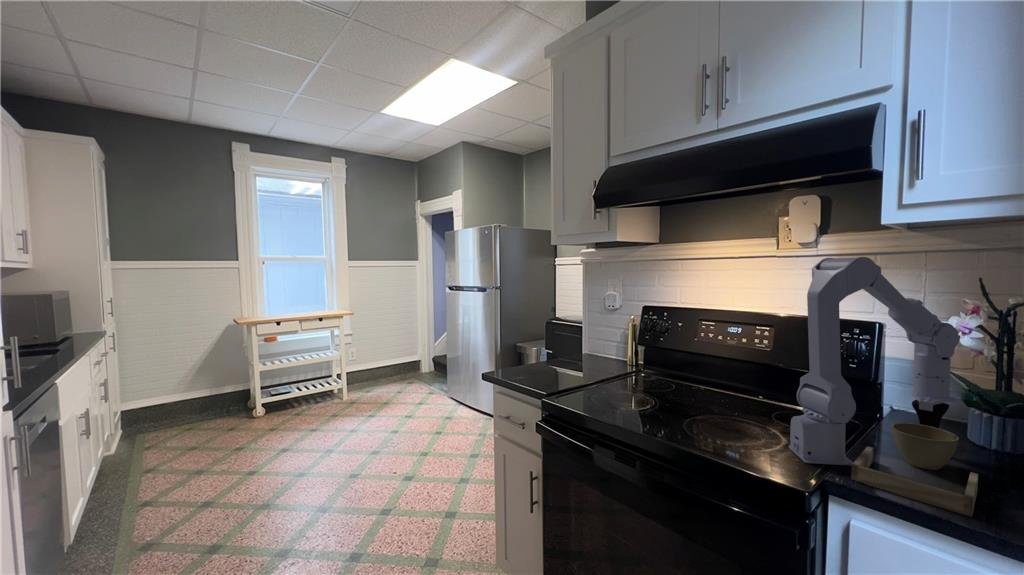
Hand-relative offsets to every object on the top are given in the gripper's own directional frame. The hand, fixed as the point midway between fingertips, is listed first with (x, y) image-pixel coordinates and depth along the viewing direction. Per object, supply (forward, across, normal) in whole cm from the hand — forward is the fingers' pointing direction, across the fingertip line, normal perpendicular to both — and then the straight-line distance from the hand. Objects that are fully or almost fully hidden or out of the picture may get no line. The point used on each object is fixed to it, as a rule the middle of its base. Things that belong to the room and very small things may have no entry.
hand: (929, 434), depth 93 cm
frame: (+4, -21, 0) cm, 21 cm away
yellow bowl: (+4, -9, 0) cm, 10 cm away
